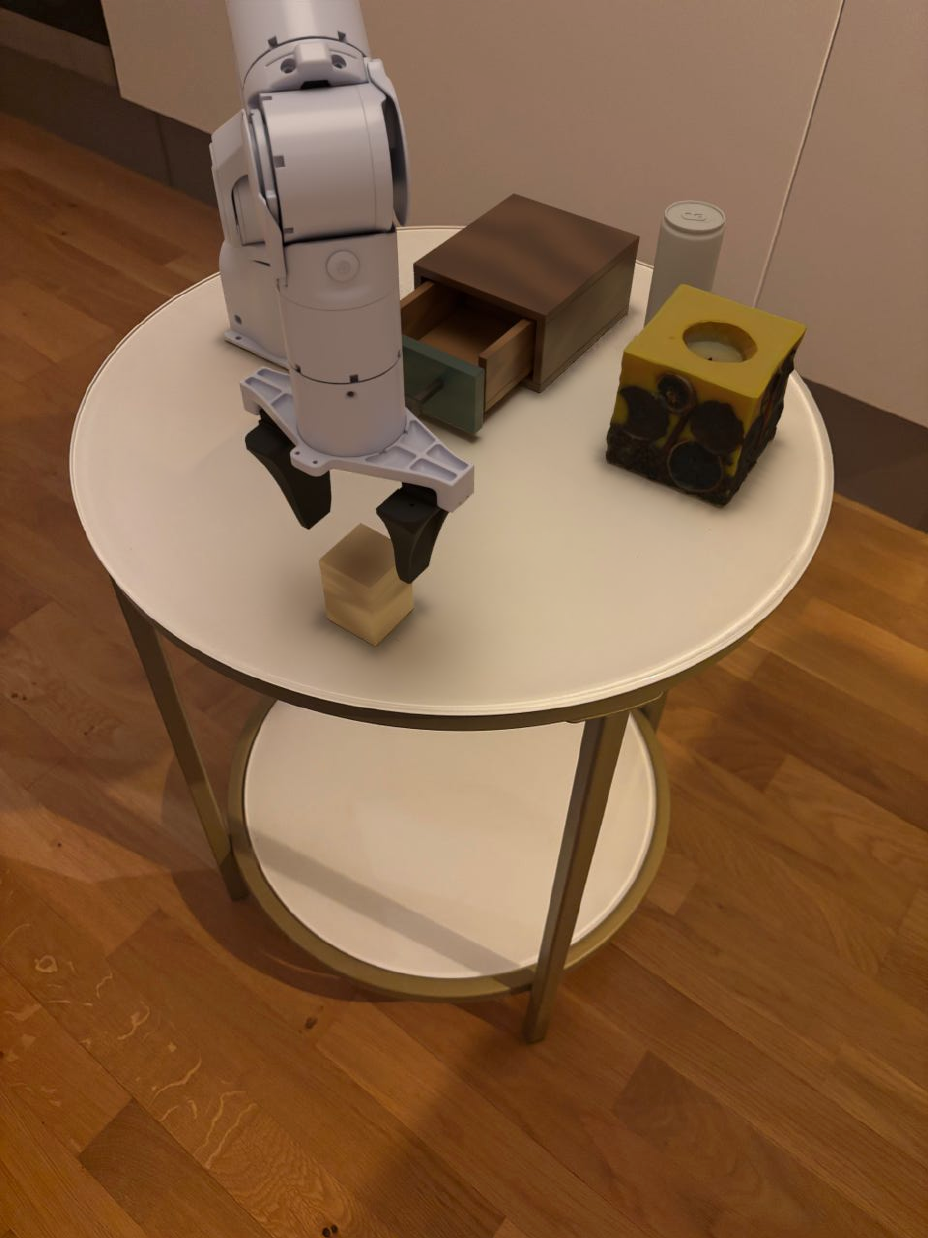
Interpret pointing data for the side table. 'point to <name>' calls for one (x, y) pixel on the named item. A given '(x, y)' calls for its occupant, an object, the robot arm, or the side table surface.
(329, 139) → the robot arm
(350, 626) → the block
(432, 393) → the drawer
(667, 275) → the beverage can
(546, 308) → the cabinet
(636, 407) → the candle
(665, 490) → the side table surface
